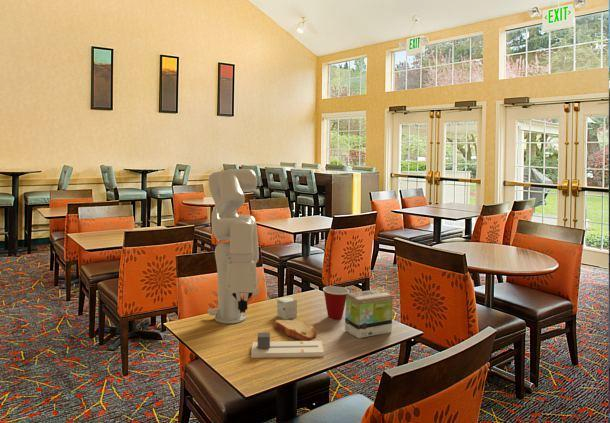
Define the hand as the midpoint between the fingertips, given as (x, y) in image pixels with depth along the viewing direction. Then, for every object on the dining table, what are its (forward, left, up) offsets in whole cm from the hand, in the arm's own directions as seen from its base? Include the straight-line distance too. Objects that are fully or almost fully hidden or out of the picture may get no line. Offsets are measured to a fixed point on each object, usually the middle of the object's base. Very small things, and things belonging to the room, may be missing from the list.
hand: (242, 311), depth 168 cm
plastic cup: (+35, +34, -15) cm, 51 cm away
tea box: (+46, +18, -15) cm, 51 cm away
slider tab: (+7, 0, -12) cm, 14 cm away
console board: (+15, 0, -14) cm, 21 cm away
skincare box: (+15, +36, -15) cm, 42 cm away
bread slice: (+17, +19, -15) cm, 30 cm away
